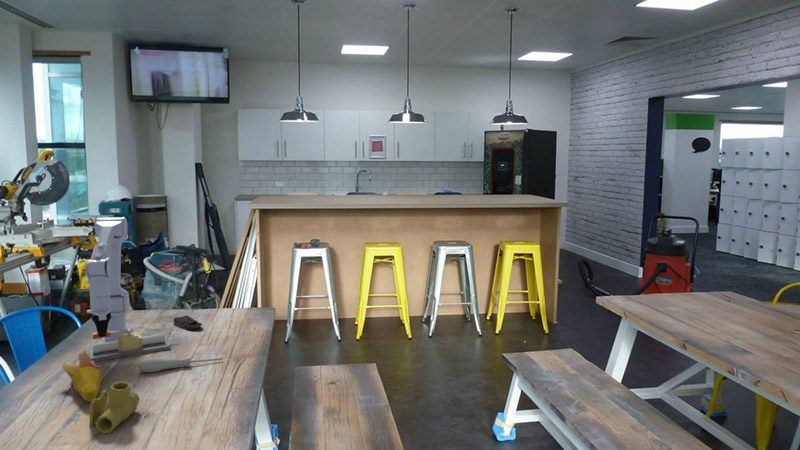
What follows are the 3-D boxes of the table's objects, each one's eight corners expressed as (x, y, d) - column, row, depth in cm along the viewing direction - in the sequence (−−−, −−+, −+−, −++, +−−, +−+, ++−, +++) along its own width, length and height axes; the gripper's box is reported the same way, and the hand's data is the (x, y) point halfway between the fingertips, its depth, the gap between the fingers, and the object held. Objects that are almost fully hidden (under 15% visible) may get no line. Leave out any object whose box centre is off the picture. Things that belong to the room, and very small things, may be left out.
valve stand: (88, 352, 184) (87, 334, 183) (165, 340, 197) (164, 323, 196) (90, 362, 176) (89, 343, 175) (170, 349, 188) (169, 331, 188)
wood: (166, 321, 222) (166, 313, 222) (185, 317, 227) (185, 310, 226) (186, 334, 205) (185, 326, 205) (205, 331, 210) (205, 323, 209)
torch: (88, 421, 144) (75, 378, 164) (117, 401, 148) (101, 362, 167) (69, 400, 140) (58, 359, 160) (99, 380, 144) (85, 342, 163)
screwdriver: (223, 368, 176) (224, 357, 175) (137, 376, 166) (137, 364, 164) (222, 360, 180) (222, 349, 179) (138, 368, 170) (138, 356, 168)
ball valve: (141, 412, 143) (103, 407, 143) (143, 376, 141) (105, 371, 141) (116, 440, 131) (74, 434, 131) (118, 400, 129) (76, 394, 129)
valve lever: (132, 331, 187) (132, 327, 187) (133, 333, 185) (133, 329, 185) (92, 337, 181) (92, 332, 180) (93, 339, 178) (92, 335, 178)
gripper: (84, 292, 182) (87, 332, 184) (87, 302, 170) (89, 344, 171) (108, 290, 186) (110, 329, 187) (112, 299, 174) (114, 340, 175)
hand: (102, 336), depth 180 cm, fingers closed
